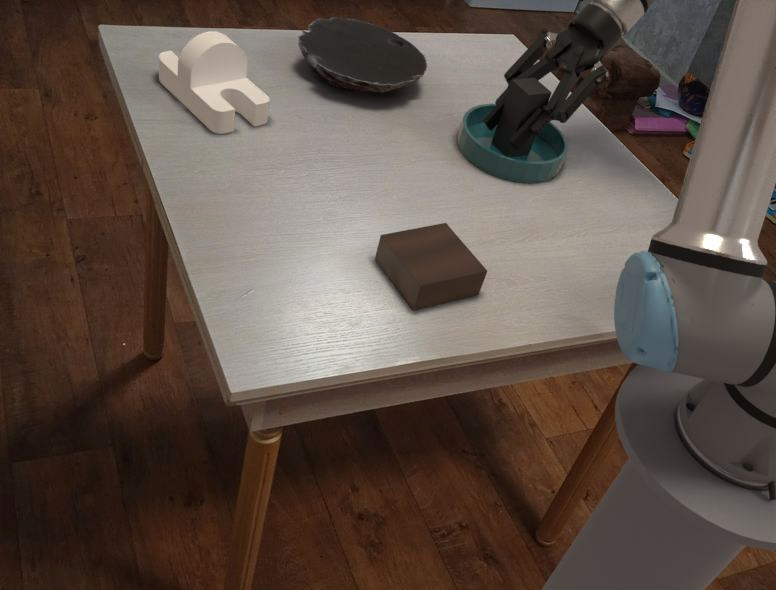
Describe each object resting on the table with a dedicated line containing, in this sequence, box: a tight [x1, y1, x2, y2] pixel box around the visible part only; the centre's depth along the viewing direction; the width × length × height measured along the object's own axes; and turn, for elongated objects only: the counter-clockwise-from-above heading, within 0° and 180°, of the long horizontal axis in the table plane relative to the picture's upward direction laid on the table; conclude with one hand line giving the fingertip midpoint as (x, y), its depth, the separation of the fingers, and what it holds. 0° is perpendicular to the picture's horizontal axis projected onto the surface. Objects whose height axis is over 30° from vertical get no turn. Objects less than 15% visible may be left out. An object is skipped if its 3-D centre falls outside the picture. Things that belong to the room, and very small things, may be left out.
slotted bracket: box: [158, 30, 271, 135], centre depth 122 cm, size 18×10×10 cm, turn 40°
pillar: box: [492, 78, 553, 157], centre depth 129 cm, size 4×4×11 cm
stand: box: [374, 222, 488, 311], centre depth 105 cm, size 10×10×4 cm
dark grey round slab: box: [297, 16, 428, 93], centre depth 139 cm, size 22×22×5 cm
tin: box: [456, 103, 569, 184], centre depth 132 cm, size 17×17×4 cm
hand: (500, 135), depth 128 cm, fingers closed on pillar, 5 cm apart
